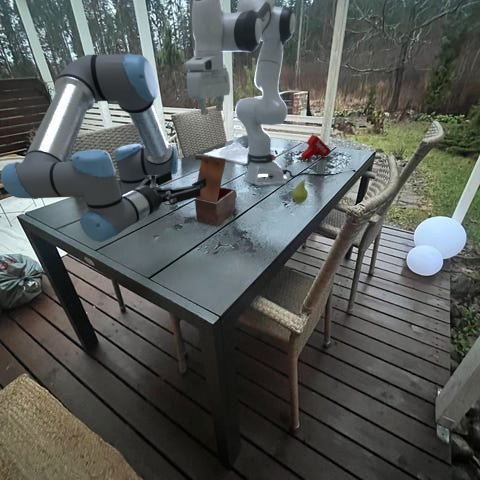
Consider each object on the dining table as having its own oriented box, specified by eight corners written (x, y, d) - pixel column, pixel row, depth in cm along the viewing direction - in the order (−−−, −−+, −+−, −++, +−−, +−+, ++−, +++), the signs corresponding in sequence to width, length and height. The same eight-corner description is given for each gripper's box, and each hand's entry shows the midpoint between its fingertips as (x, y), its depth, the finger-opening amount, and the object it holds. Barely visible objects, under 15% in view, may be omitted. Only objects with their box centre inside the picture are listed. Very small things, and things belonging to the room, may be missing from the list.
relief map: (245, 164, 167) (245, 156, 164) (203, 155, 185) (203, 148, 182) (268, 154, 185) (268, 147, 183) (228, 147, 203) (228, 140, 200)
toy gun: (302, 156, 169) (316, 135, 166) (298, 155, 172) (312, 134, 169) (317, 170, 180) (331, 150, 177) (313, 169, 183) (326, 149, 180)
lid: (203, 156, 101) (191, 149, 94) (226, 159, 98) (215, 152, 90) (195, 198, 103) (182, 194, 95) (216, 202, 99) (205, 199, 92)
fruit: (288, 200, 123) (290, 174, 116) (302, 197, 125) (305, 172, 119) (296, 206, 118) (299, 179, 111) (310, 203, 120) (314, 177, 114)
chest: (216, 205, 119) (215, 185, 114) (235, 209, 115) (235, 189, 110) (196, 220, 108) (194, 199, 103) (217, 225, 104) (216, 203, 99)
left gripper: (110, 207, 79) (159, 183, 94) (180, 226, 69) (221, 195, 85) (103, 182, 74) (155, 161, 90) (176, 199, 65) (220, 172, 81)
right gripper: (217, 63, 93) (219, 108, 100) (181, 63, 78) (186, 116, 85) (234, 63, 91) (234, 109, 98) (200, 63, 75) (203, 117, 83)
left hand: (187, 178), depth 88 cm, fingers open, 13 cm apart
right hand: (212, 112), depth 91 cm, fingers open, 8 cm apart
